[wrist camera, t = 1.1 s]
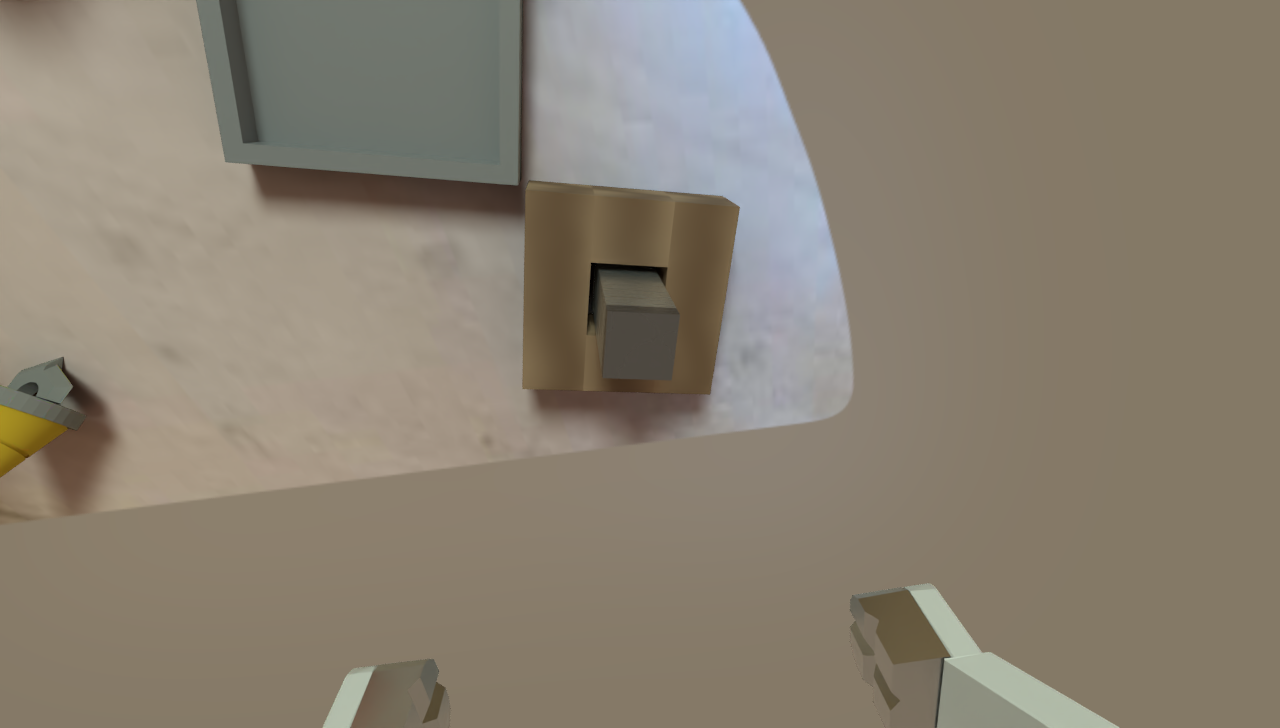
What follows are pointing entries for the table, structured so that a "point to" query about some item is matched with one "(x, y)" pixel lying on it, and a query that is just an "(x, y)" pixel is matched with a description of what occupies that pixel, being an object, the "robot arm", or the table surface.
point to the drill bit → (34, 412)
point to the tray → (369, 85)
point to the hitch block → (629, 235)
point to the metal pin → (634, 322)
